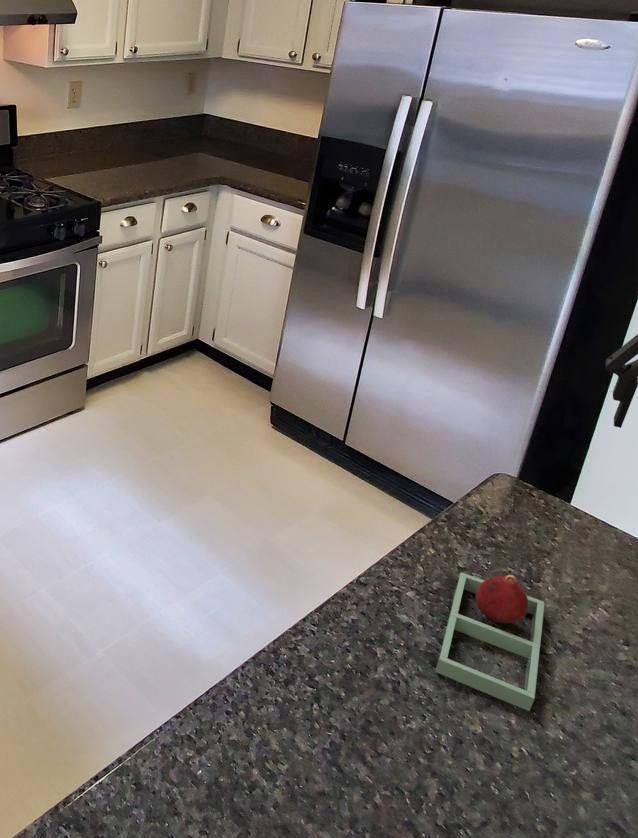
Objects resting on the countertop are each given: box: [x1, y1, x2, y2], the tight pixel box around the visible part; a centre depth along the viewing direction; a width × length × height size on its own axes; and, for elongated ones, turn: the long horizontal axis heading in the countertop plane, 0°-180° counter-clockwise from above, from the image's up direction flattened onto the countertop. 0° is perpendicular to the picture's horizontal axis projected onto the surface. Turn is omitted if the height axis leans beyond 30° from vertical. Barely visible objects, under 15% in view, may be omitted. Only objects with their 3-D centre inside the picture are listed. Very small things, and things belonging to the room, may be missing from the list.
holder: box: [435, 572, 545, 712], centre depth 105 cm, size 19×10×3 cm, turn 144°
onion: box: [475, 574, 528, 625], centre depth 106 cm, size 6×6×8 cm
